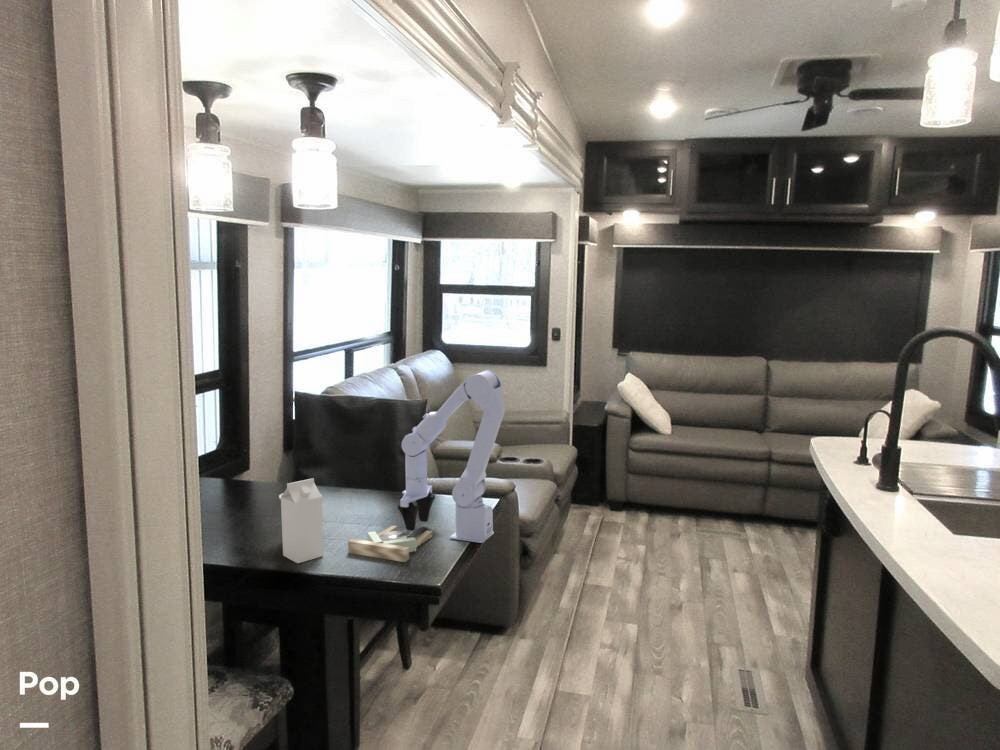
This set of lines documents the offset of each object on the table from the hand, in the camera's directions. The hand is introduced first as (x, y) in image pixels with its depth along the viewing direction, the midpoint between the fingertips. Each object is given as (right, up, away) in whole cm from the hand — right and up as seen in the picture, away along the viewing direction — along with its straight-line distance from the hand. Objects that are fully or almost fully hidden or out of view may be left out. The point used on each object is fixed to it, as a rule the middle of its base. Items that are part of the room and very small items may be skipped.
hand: (417, 525), depth 192 cm
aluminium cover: (-5, -3, -12) cm, 13 cm away
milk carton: (-26, -4, -18) cm, 32 cm away
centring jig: (-5, -3, -12) cm, 13 cm away
